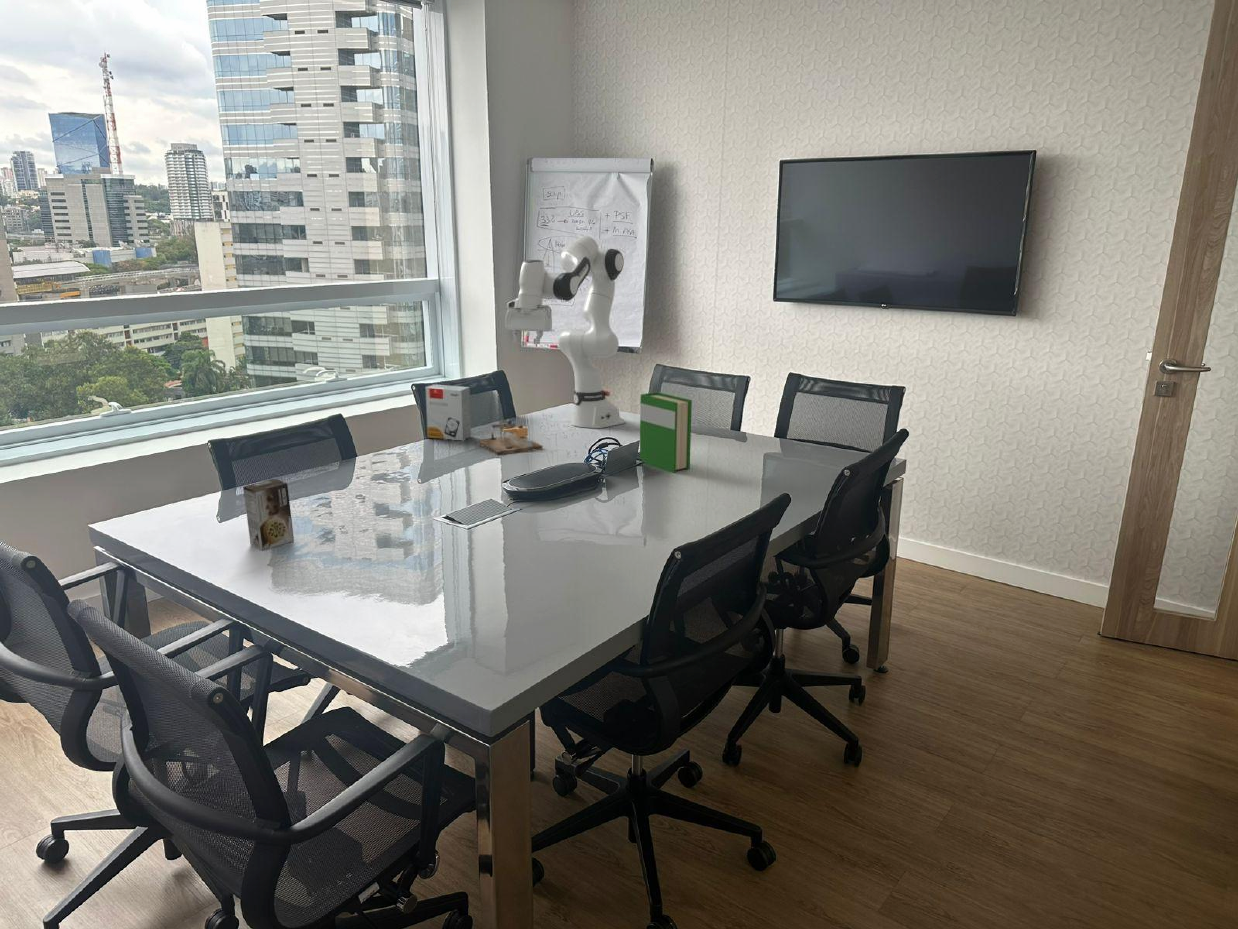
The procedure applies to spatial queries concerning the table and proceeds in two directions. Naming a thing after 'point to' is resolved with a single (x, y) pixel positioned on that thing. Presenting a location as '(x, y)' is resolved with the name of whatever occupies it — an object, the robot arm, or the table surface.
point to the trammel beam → (512, 434)
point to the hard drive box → (448, 412)
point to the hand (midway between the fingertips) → (526, 343)
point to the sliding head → (516, 432)
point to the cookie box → (268, 514)
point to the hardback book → (665, 431)
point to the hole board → (505, 445)
